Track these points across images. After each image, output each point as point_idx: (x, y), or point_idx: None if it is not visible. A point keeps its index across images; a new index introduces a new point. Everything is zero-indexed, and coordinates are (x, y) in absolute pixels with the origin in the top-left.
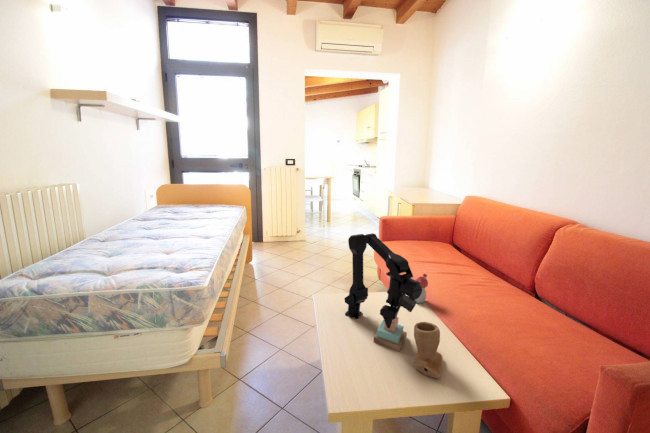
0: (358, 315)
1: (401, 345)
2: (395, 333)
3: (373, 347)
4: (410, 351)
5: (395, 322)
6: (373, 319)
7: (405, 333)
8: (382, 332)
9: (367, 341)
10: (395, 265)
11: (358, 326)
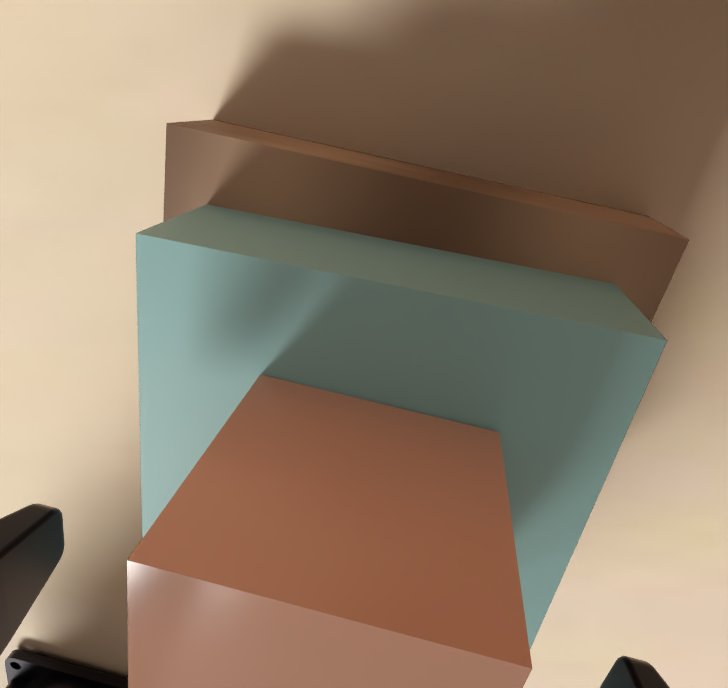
0: (91, 685)
1: (550, 201)
2: (528, 411)
3: (631, 544)
4: (608, 14)
5: (522, 675)
6: None
7: (215, 151)
8: (537, 607)
9: None
10: None
11: None
